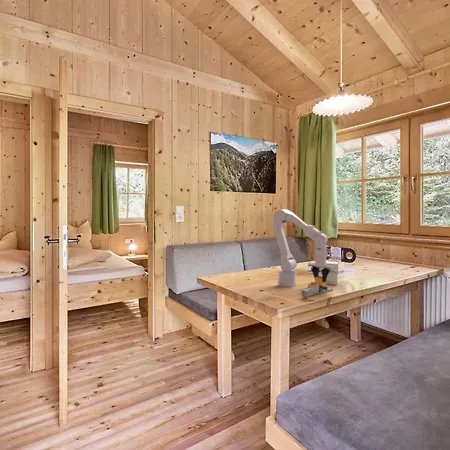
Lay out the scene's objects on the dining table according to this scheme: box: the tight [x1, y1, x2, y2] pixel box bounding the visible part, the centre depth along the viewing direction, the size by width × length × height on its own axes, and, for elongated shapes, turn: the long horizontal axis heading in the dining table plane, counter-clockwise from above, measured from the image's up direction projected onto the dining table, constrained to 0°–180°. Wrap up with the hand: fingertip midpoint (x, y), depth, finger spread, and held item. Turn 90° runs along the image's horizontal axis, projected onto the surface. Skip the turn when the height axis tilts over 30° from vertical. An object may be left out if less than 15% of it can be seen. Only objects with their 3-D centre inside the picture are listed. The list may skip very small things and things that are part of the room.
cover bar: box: [301, 286, 319, 298], centre depth 156 cm, size 13×3×4 cm, turn 130°
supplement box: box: [326, 260, 339, 286], centre depth 186 cm, size 7×7×13 cm
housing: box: [298, 285, 334, 296], centre depth 167 cm, size 14×13×2 cm
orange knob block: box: [314, 275, 327, 286], centre depth 168 cm, size 4×4×5 cm
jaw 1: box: [307, 281, 319, 289], centre depth 164 cm, size 4×4×5 cm
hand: (320, 281), depth 168 cm, fingers closed on orange knob block, 4 cm apart
